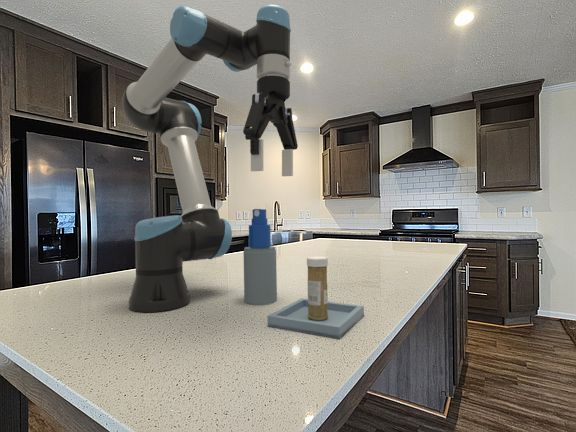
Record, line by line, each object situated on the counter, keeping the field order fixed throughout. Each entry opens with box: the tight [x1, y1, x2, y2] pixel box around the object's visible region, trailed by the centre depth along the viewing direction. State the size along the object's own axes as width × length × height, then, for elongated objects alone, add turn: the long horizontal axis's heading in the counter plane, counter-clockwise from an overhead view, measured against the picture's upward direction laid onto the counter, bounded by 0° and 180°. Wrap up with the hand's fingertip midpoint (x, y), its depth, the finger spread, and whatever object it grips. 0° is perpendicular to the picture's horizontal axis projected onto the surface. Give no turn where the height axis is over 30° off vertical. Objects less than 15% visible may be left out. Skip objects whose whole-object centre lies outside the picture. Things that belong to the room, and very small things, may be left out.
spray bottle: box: [243, 208, 278, 306], centre depth 92 cm, size 9×9×25 cm
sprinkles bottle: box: [306, 255, 329, 321], centre depth 74 cm, size 5×5×14 cm
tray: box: [266, 297, 365, 340], centre depth 74 cm, size 16×16×2 cm
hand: (273, 173), depth 77 cm, fingers open, 13 cm apart
